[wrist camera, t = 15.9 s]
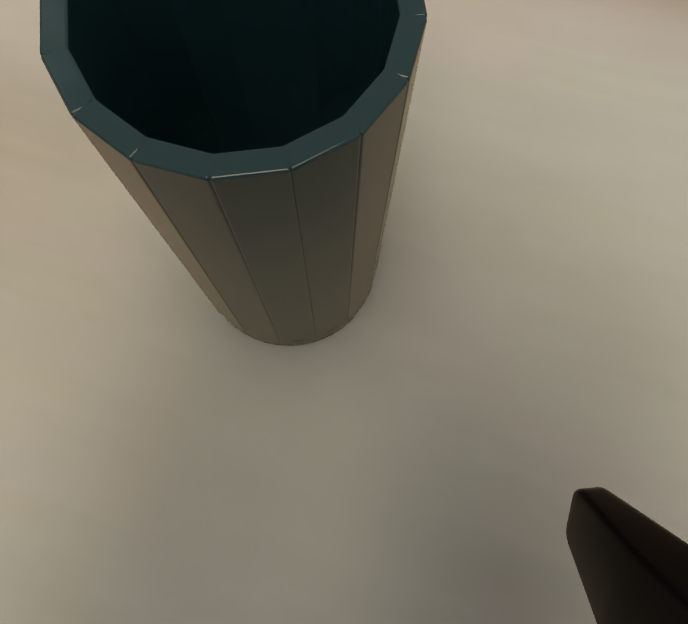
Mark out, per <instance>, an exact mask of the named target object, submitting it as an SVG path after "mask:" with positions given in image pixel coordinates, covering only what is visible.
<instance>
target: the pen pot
mask: <svg viewBox="0 0 688 624" xmlns="http://www.w3.org/2000/svg"><path fill="white" fill-rule="evenodd" d="M426 18H427V12H426V7H425V1H424V0H40V54H41V58H42V61H43V63H44V65H45V67H46V69H47V71H48V73H49V74H50V76H51V78H52V80H53V82H54V84H55V86H56V88H57V90H58V92H59V94H60V96H61V98H62V99H63V101H64V103H65V105H66V107H67V109H68V111H69V113H70V115H71V116H72V117H73V119H74V120H75V121H76V123H77V124H78V125H79V127H80V128H81V129H82V131H83V132H84V133H85V135H86V136H87V137H88V139H89V140H90V141H91V143H92V144H93V145H94V147H95V148H96V149H97V151H98V152H99V153H100V155H101V156H102V157H103V159H104V160H105V161H106V163H107V164H108V165H109V167H110V168H111V169H112V171H113V172H114V173H115V175H116V176H117V177H118V179H119V180H120V181H121V183H122V184H123V185H124V187H125V188H126V189H127V191H128V192H129V193H130V195H131V196H132V197H133V199H134V200H135V201H136V203H137V204H138V205H139V207H140V208H141V209H142V211H143V212H144V213H145V215H146V216H147V217H148V219H149V220H150V221H151V223H152V224H153V225H154V227H155V228H156V229H157V231H158V232H159V233H160V235H161V236H162V237H163V239H164V240H165V241H166V243H167V244H168V245H169V247H170V248H171V249H172V251H173V252H174V253H175V255H176V256H177V257H178V259H179V260H180V261H181V263H182V264H183V265H184V267H185V268H186V269H187V271H188V272H189V273H190V275H191V276H192V277H193V279H194V280H195V281H196V283H197V284H198V285H199V287H200V288H201V289H202V291H203V292H204V293H205V295H206V296H207V297H208V299H209V300H210V301H211V303H212V304H213V305H214V307H215V308H216V309H217V310H218V312H219V313H220V314H222V315H223V316H224V317H225V318H226V319H227V321H229V322H230V323H231V324H232V325H233V326H234V327H235V328H237V329H238V330H240V331H241V332H243V333H244V334H246V335H248V336H250V337H252V338H254V339H257V340H259V341H262V342H265V343H270V344H275V345H286V346H290V345H302V344H307V343H312V342H315V341H318V340H321V339H324V338H326V337H328V336H330V335H332V334H334V333H335V332H337V331H338V330H340V329H341V328H343V327H344V326H345V325H346V324H347V323H349V322H350V321H351V320H352V319H353V318H354V316H355V315H356V314H357V313H358V312H359V310H360V309H361V307H362V306H363V305H364V303H365V301H366V299H367V297H368V295H369V293H370V290H371V287H372V284H373V279H374V275H375V271H376V267H377V264H378V259H379V254H380V249H381V244H382V239H383V234H384V230H385V225H386V220H387V215H388V210H389V205H390V200H391V195H392V190H393V185H394V180H395V175H396V170H397V165H398V161H399V156H400V151H401V146H402V141H403V136H404V131H405V126H406V121H407V116H408V111H409V106H410V101H411V97H412V92H413V87H414V82H415V77H416V72H417V67H418V62H419V57H420V52H421V47H422V42H423V37H424V33H425V28H426V23H427V19H426Z"/></svg>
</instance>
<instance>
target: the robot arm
mask: <svg viewBox="0 0 688 624" xmlns="http://www.w3.org/2000/svg"><path fill="white" fill-rule="evenodd" d="M566 534H567V540H568V544H569V547H570V550H571V553H572V555H573V558H574V561H575V564H576V566H577V569H578V572H579V575H580V578H581V580H582V583H583V586H584V589H585V591H586V594H587V597H588V600H589V602H590V605H591V608H592V611H593V614H594V616H595V619H596V622H597V624H688V544H687V543H686V542H684V541H683V540H681V539H680V538H678V537H677V536H675V535H674V534H672V533H671V532H669V531H668V530H666V529H665V528H663V527H662V526H660V525H659V524H657V523H656V522H654V521H653V520H651V519H650V518H648V517H647V516H645V515H644V514H642V513H641V512H639V511H638V510H636V509H635V508H633V507H632V506H630V505H629V504H627V503H626V502H624V501H623V500H621V499H620V498H618V497H617V496H615V495H614V494H612V493H611V492H609V491H608V490H606V489H604V488H601V487H595V488H583V489H578V490H576V491H575V493H574V494H573V498H572V502H571V507H570V512H569V517H568V522H567V528H566Z"/></svg>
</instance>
